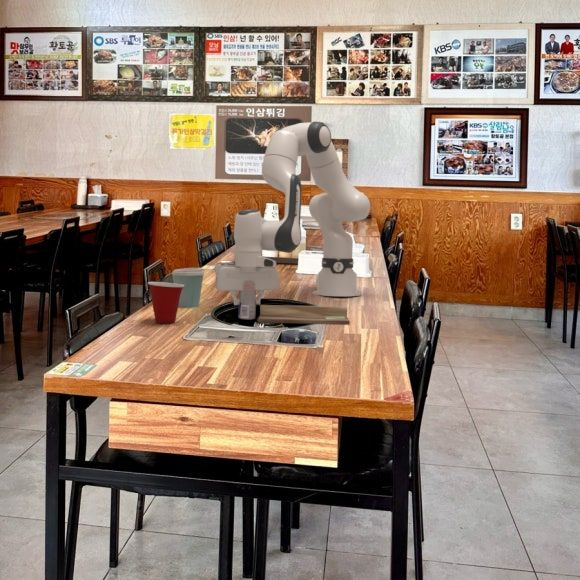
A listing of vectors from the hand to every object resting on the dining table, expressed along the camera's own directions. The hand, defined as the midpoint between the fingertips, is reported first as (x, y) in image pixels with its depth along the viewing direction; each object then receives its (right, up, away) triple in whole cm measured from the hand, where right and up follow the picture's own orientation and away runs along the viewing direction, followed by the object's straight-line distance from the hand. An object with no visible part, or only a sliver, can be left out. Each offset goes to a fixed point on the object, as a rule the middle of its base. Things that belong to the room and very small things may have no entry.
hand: (247, 304), depth 208 cm
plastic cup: (-24, -5, -10) cm, 26 cm away
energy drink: (0, -5, 0) cm, 5 cm away
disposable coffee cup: (-21, -3, +14) cm, 25 cm away
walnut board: (+18, -5, -1) cm, 19 cm away
